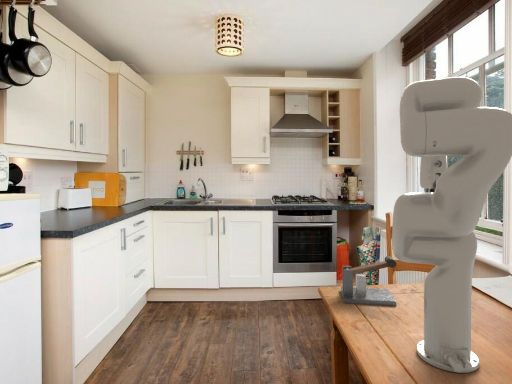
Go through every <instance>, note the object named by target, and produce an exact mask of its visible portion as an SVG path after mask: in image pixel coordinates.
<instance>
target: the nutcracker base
mask: <svg viewBox="0 0 512 384" xmlns="http://www.w3.org/2000/svg"><path fill="white" fill-rule="evenodd" d="M347 268H348V269H347ZM349 268H353V267H352V265H342V286H340V294H341V297H342V302H343V304H354V305H357V304H358V305H370V306H371V305H374V306H392V307H396V306H397V300H396V298H395V297H394V296H393V294H392V293H391V291H390V290H389V288H374V287H373V288H372V287H370V288H369V287H367V277H366V274H364V273H358V274H355V287H354V274H353V270H351V269H349Z"/></svg>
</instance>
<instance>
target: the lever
mask: <svg viewBox="0 0 512 384" xmlns="http://www.w3.org/2000/svg"><path fill="white" fill-rule="evenodd" d="M396 267H397V261H395V259H393V257H391V256H390V255H387V256H385V257H384V260H383V261H379V262H372V263H369V264H364V265H360V266H355V267H352V268H349V269H351V270H353V275H356V274H364V273H366V272H372V271H377V270H381V269H385V268H391V269H393V268H396ZM347 269H348V268H347Z"/></svg>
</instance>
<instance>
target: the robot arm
mask: <svg viewBox="0 0 512 384" xmlns="http://www.w3.org/2000/svg"><path fill="white" fill-rule="evenodd" d="M482 96H483V91H482V87H481V86H480V85H479V83H478V82H477V81H476V80H474V79H473V78H469V77H466V76H452V77H451V76H450V77H445V78H444V77H443V78H435V79H426V80H419V81H418V80H417V81H414V82H411V83H410V84H408V85H407V86H406V87H405V88H404V90H403V92H402V94H401V97H400V101H399V125H400V128H399V130H400V132H399V133H400V143H401V148H402V150H403V151H404V153H405V154H406V155H408V156H411V157H416V158H417V157H418V158H420V167H419V186H420V187H421V189H423V191H424V192H406V193H403V194H401V195H400V196H398V197H397V198H396V200H395V202H394V206H393V213H392V229H391V231H392V232H391V249H392V252H393V256H394V257H395V258H396V260H398V261H401V262H404V263H411V264H424V265H425V264H427V265H433V268H432V269H431V270H430V271H429V272H428V273H427V275H426V277H425V279H424V282H423V340H420V341H419V342H418V343H417V344H416V353H417V355H418V356H419V357H420V358H421V359H422V361H424V362H426V363H428V364H429V365H430V366H432V367H436V368H438V369H440V370H444V371H448V372H452V373H458V374H459V373H462V374H463V373H467V374H468V373H471V372H474V371H476V370H478V369H479V367H480V358H479V357H478V356H477V354H475V353H474V351H472V295H473V293H472V292H473V291H472V290H473V289H472V288H473V285H472V284H473V273H474V272H473V271H474V265H475V260H476V256H477V255H476V254H477V252H478V251H477V250H478V239H477V236H476V234H475V232H474V231H475V229H476V228H477V225H478V223H479V221H480V217H481V215H482V212H483V209H484V206H485V203H486V201H487V197H488V193H489V191H490V190H491V188H492V187H493V186H494V185H495V183H496V181H497V180H498V179H499V178H500V177H501V175H502V174H503V173H504V171H505V169H507V167H508V165H509V163H510V161H511V159H512V113H511V112H509V111H508V110H506V109H503V108H500V107H492V106H491V107H489V106H479V105H480V103H481V101H482V98H483V97H482ZM447 156H450V157H451V156H462V158H460V159H458V160H457V161H455V162H454V163H453V164H451V165H450V166H448V165H447V164H448V163H447V158H446V157H447ZM497 182H498V181H497Z"/></svg>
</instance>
